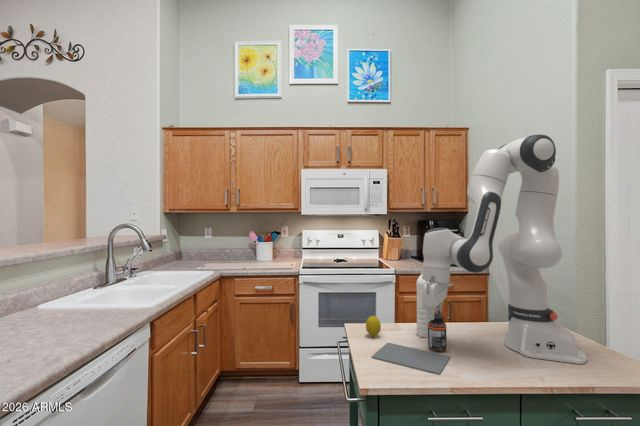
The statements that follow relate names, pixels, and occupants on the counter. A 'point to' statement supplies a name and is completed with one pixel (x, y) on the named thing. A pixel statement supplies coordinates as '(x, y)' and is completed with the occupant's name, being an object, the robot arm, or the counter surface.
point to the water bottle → (421, 310)
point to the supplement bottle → (437, 334)
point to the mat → (412, 358)
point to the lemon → (373, 325)
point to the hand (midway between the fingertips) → (434, 315)
